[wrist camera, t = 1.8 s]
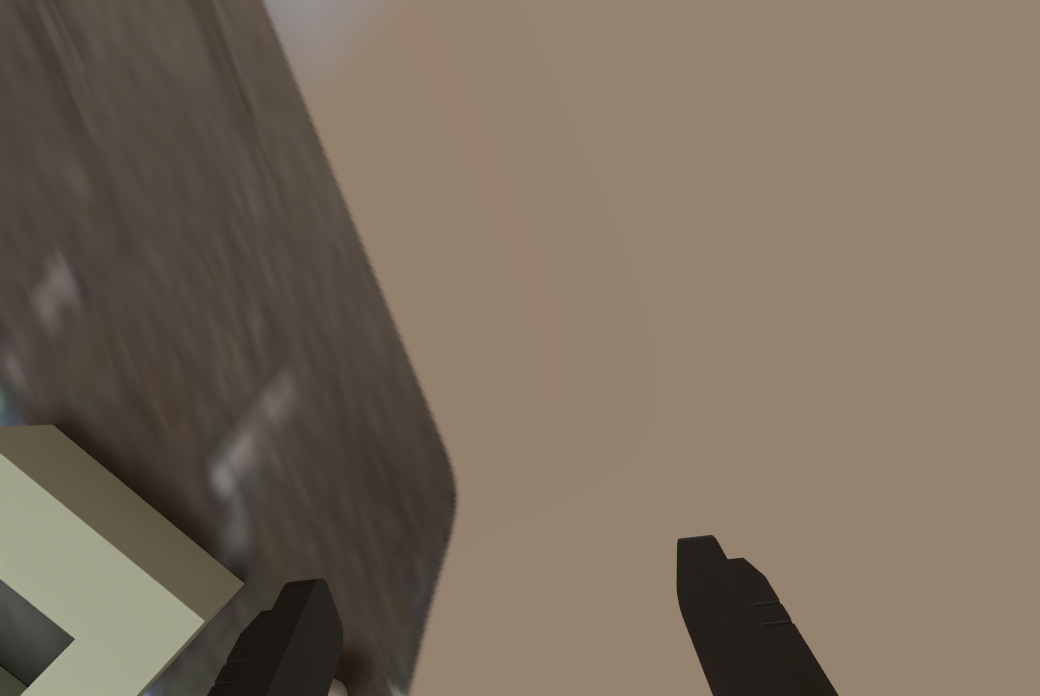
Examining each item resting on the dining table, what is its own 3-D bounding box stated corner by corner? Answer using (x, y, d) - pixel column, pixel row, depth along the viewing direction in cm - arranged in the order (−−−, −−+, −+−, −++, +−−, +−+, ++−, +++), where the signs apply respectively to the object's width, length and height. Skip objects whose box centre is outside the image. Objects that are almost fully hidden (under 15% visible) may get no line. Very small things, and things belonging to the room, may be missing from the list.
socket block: (-185, 638, 24) (-340, 696, 19) (52, 424, 27) (-31, 428, 22) (37, 810, 25) (-59, 907, 20) (244, 583, 28) (204, 621, 23)
